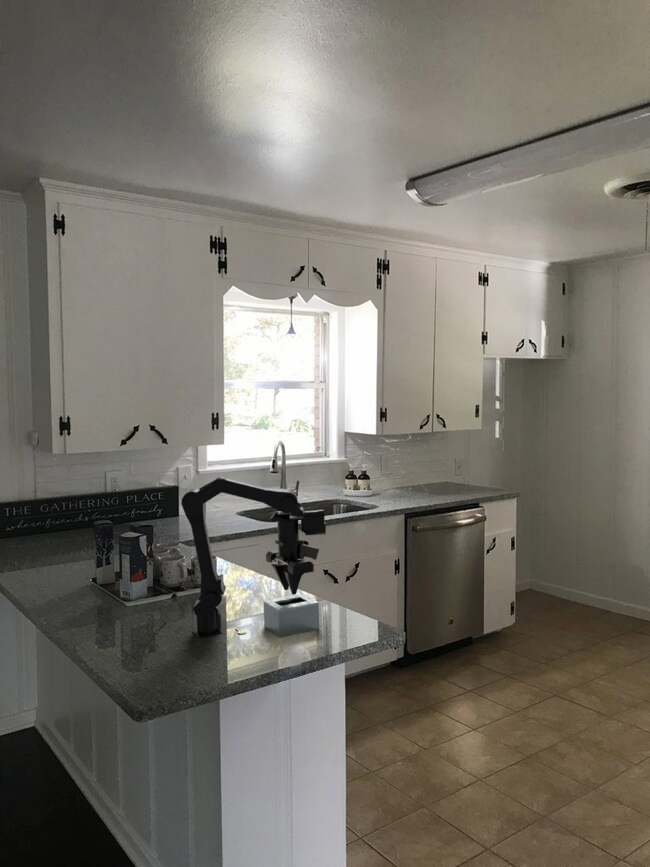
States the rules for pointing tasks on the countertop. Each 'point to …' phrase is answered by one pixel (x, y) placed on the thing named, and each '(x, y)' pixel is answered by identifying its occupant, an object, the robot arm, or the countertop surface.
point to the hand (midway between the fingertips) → (290, 592)
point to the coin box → (291, 615)
